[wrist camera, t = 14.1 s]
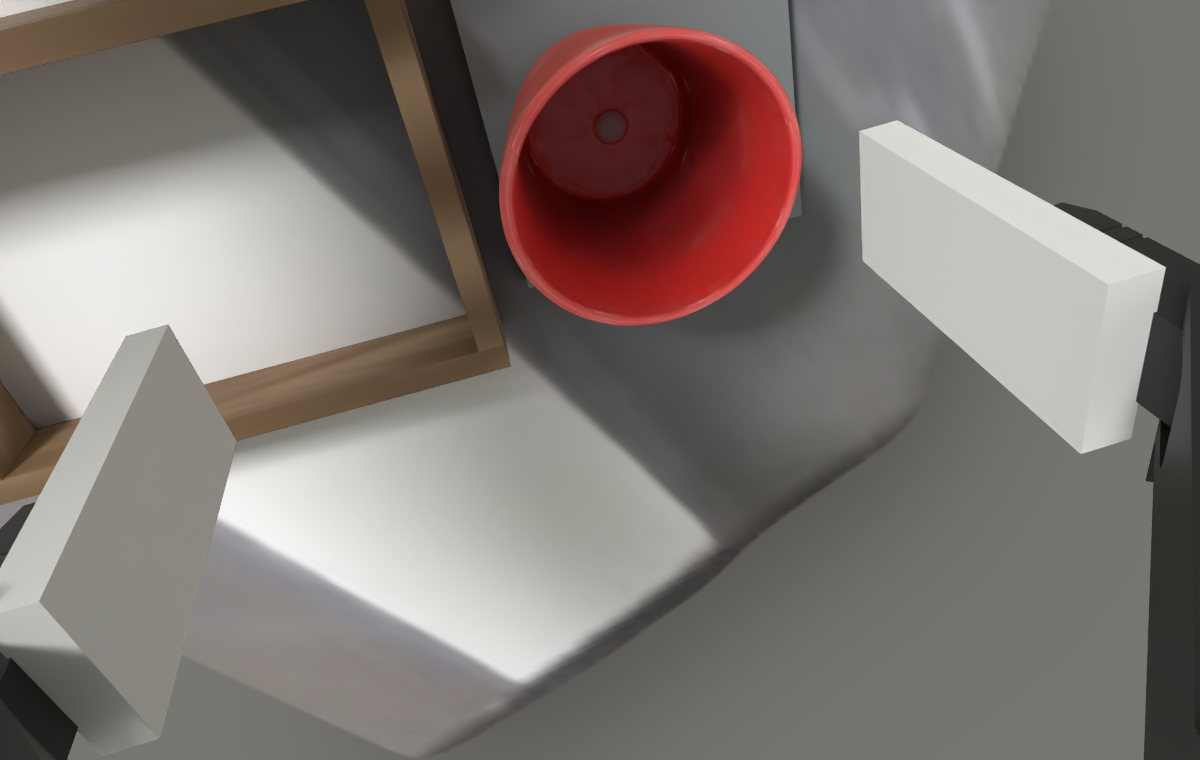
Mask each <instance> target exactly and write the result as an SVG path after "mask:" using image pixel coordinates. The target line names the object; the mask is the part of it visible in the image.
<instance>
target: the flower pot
mask: <svg viewBox="0 0 1200 760" xmlns="http://www.w3.org/2000/svg"><path fill="white" fill-rule="evenodd" d="M801 171H802V139H801V133H800V128H799V124H798V120H797V117H796V114H795V111H794V108H793V106H792V103H791V101H790V99H789V96H788V95H787V93H786V91H785V90H784V88H783V86H782V85H781V84H780V82H779V81H778V79H777V78H776V77H775V75H774V74H773V73H772V72H771V71H770V70H769V69H768V68H767V67H766V66H765V64H763V63H762V62H761V61H760V60H759V59H758V58H757V57H756V56H754V55H753V54H752V53H750V52H749V51H748V50H746V49H745V48H743V47H741V46H740V45H738V44H736V43H735V42H733V41H731V40H729V39H726V38H724V37H722V36H719V35H716V34H713V33H710V32H707V31H703V30H698V29H693V28H687V27H677V26H665V25H642V24H615V25H605V26H598V27H593V28H588V29H584V30H581V31H578V32H575V33H572V34H570V35H568V36H566V37H564V38H563V39H561V40H559V41H558V42H556V43H555V44H554V45H552V46H551V47H550V48H549V49H547V50H546V51H545V52H544V53H543V54H542V55H541V56H540V57H539V59H538V60H537V61H536V62H535V64H534V65H533V66H532V68H531V69H530V71H529V73H528V74H527V76H526V78H525V80H524V82H523V84H522V86H521V89H520V92H519V94H518V97H517V100H516V103H515V105H514V108H513V112H512V115H511V119H510V123H509V127H508V132H507V136H506V141H505V146H504V151H503V156H502V163H501V170H500V180H499V204H500V213H501V221H502V225H503V229H504V233H505V237H506V240H507V242H508V245H509V247H510V250H511V252H512V254H513V256H514V258H515V260H516V262H517V263H518V265H519V267H520V268H521V270H522V271H523V273H524V274H525V276H526V277H527V278H528V279H529V280H530V282H531V283H532V284H533V285H534V286H535V287H536V288H537V289H538V290H539V291H540V292H541V293H542V294H544V295H545V296H546V297H547V298H548V299H550V300H551V301H552V302H554V303H555V304H557V305H558V306H560V307H561V308H563V309H565V310H567V311H569V312H571V313H573V314H575V315H577V316H580V317H582V318H586V319H589V320H592V321H596V322H600V323H605V324H610V325H622V326H637V325H648V324H656V323H662V322H666V321H670V320H674V319H677V318H680V317H684V316H686V315H689V314H691V313H694V312H696V311H698V310H700V309H702V308H704V307H706V306H708V305H710V304H712V303H714V302H716V301H717V300H719V299H720V298H722V297H724V296H725V295H727V294H728V293H729V292H731V291H732V290H734V289H735V288H736V287H737V286H739V285H740V284H741V283H742V282H743V281H744V280H746V279H747V278H748V277H749V276H750V275H751V273H752V272H753V271H754V270H755V269H756V268H757V267H758V266H759V265H760V264H761V263H762V261H763V260H764V259H765V257H766V256H767V255H768V254H769V252H770V251H771V250H772V248H773V247H774V245H775V243H776V242H777V240H778V239H779V237H780V235H781V233H782V231H783V230H784V227H785V225H786V223H787V221H788V219H789V217H790V214H791V212H792V209H793V206H794V203H795V199H796V196H797V192H798V188H799V183H800V177H801Z"/></svg>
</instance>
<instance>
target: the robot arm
mask: <svg viewBox="0 0 1200 760" xmlns="http://www.w3.org/2000/svg"><path fill="white" fill-rule="evenodd" d="M859 143H860V179H861V216H862V252H863V261H864V262H865V263H866V264H867V265H868V266H869V267H870V268H871V269H873V270H874V271H875V272H876V273H877V274H878V275H879V276H881V277H882V278H883V279H884V280H885V281H886V282H887V283H888V284H890V285H891V286H892V287H893V288H894V289H895V290H896V291H897V292H899V293H900V294H901V295H902V296H903V297H904V298H905V299H906V300H908V301H909V302H910V303H911V304H912V305H913V306H914V307H916V308H917V309H918V310H919V311H920V312H921V313H922V314H923V315H925V316H926V317H927V318H928V319H929V320H930V321H931V322H932V323H934V324H935V325H936V326H937V327H938V328H939V329H940V330H941V331H943V332H944V333H945V334H946V335H947V336H948V337H949V338H951V339H952V340H953V341H954V342H955V343H956V344H957V345H958V346H960V347H961V348H962V349H963V350H964V351H965V352H966V353H967V354H969V355H970V356H971V357H972V358H973V359H974V360H975V361H977V362H978V363H979V364H980V365H981V366H982V367H983V368H984V369H985V370H987V371H988V372H989V373H990V374H991V375H992V376H993V377H995V378H996V379H997V380H998V381H999V382H1000V383H1001V384H1002V385H1004V386H1005V387H1006V388H1007V389H1008V390H1009V391H1010V392H1011V393H1013V394H1014V395H1015V396H1016V397H1017V398H1018V399H1019V400H1021V401H1022V402H1023V403H1024V404H1025V405H1026V406H1027V407H1028V408H1030V409H1031V410H1032V411H1033V412H1034V413H1035V414H1037V416H1039V417H1040V418H1041V419H1042V420H1043V421H1044V422H1045V423H1047V424H1048V425H1049V426H1050V427H1051V428H1052V429H1053V430H1054V431H1055V432H1057V433H1058V434H1059V435H1060V436H1061V437H1062V438H1064V440H1066V441H1067V442H1068V443H1069V444H1070V445H1071V446H1073V447H1074V448H1075V449H1076V450H1077V451H1078V452H1079V453H1080V454H1082V453H1086V452H1089V451H1092V450H1095V449H1099V448H1102V447H1105V446H1108V445H1112V444H1114V443H1118V442H1121V441H1124V440H1128V439H1131V436H1132V431H1133V426H1134V421H1135V416H1136V411H1137V406H1138V403H1139V404H1140V405H1141V406H1143V407H1144V408H1145V409H1147V410H1148V411H1149V412H1151V413H1152V414H1154V415H1155V416H1156V417H1157V418H1159V419H1160V420H1159V424H1158V429H1157V433H1156V438H1155V443H1154V446H1153V451H1152V456H1151V460H1150V464H1149V469H1148V473H1147V477H1146V481H1149V482H1153V483H1154V484H1153V511H1152V539H1151V568H1150V569H1151V570H1150V597H1149V599H1150V600H1149V626H1148V654H1147V655H1148V656H1147V683H1146V713H1145V714H1146V715H1145V741H1144V742H1145V743H1144V760H1200V264H1198V263H1196V262H1194V261H1192V260H1190V259H1188V258H1186V257H1184V256H1183V255H1181V254H1179V253H1177V252H1175V251H1173V250H1171V249H1169V248H1167V247H1165V246H1163V245H1161V244H1159V243H1158V242H1156V241H1154V240H1152V239H1150V238H1148V237H1147V238H1143V237H1142V234H1140V233H1138V232H1136V231H1135V230H1132V229H1131V228H1129V227H1122V224H1121V223H1119V222H1117V221H1115V220H1113V219H1111V218H1109V217H1108V216H1106V215H1104V214H1102V213H1100V212H1098V211H1096V210H1091V209H1087V208H1083V207H1079V206H1075V205H1070V204H1066V203H1059V204H1056V205H1051V204H1049V203H1047V202H1046V201H1044V200H1042V199H1040V198H1038V197H1036V196H1035V195H1033V194H1031V193H1029V192H1027V191H1025V190H1024V189H1022V188H1020V187H1018V186H1016V185H1014V184H1013V183H1011V182H1009V181H1007V180H1005V179H1003V178H1001V177H1000V176H998V175H996V174H994V173H993V172H991V171H989V170H987V169H985V168H983V167H982V166H980V165H978V164H976V163H974V162H972V161H971V160H969V159H967V158H965V157H963V156H961V155H960V154H958V153H956V152H954V151H952V150H951V149H949V148H947V147H945V146H943V145H941V144H940V143H938V142H936V141H934V140H932V139H930V138H929V137H927V136H925V135H923V134H921V133H919V132H918V131H916V130H914V129H912V128H910V127H908V126H907V125H905V124H903V123H901V122H899V121H898V120H897V121H894V122H890V123H887V124H883V125H879V126H876V127H872V128H869V129H865V130H862V131H859ZM236 444H237V441H236V439H235V438H234V436H233V434H232V433H231V431H230V429H229V427H228V426H227V424H226V422H225V421H224V419H223V417H222V416H221V414H220V412H219V410H218V409H217V407H216V405H215V404H214V402H213V400H212V398H211V397H210V395H209V393H208V392H207V390H206V388H205V386H204V385H203V383H202V381H201V380H200V378H199V376H198V374H197V373H196V371H195V369H194V368H193V366H192V364H191V362H190V361H189V359H188V357H187V356H186V354H185V352H184V351H183V349H182V347H181V345H180V344H179V342H178V340H177V339H176V337H175V335H174V333H173V332H172V330H171V328H170V327H169V325H165V326H161V327H158V328H154V329H151V330H147V331H143V332H140V333H136V334H133V335H129V336H126V337H125V339H124V341H123V343H122V344H121V346H120V348H119V350H118V352H117V354H116V355H115V357H114V359H113V361H112V363H111V365H110V367H109V368H108V370H107V372H106V374H105V376H104V378H103V379H102V381H101V383H100V385H99V387H98V389H97V390H96V392H95V394H94V396H93V398H92V400H91V402H90V403H89V405H88V407H87V409H86V411H85V413H84V414H83V416H82V418H81V420H80V422H79V424H78V426H77V427H76V429H75V431H74V433H73V435H72V437H71V438H70V440H69V442H68V444H67V446H66V448H65V450H64V451H63V453H62V455H61V457H60V459H59V461H58V462H57V464H56V466H55V468H54V470H53V472H52V473H51V475H50V477H49V479H48V481H47V483H46V485H45V486H44V488H43V490H42V492H41V494H40V496H39V497H38V499H37V501H36V502H35V503H31V504H28V505H24V506H23V507H22V508H21V509H20V510H19V511H18V512H17V513H16V514H15V515H14V516H13V517H12V518H11V519H10V520H9V521H8V522H7V523H6V524H5V525H4V526H3V527H2V528H1V529H0V760H68V759H67V758H68V755H69V752H70V749H71V746H72V744H73V740H74V738H75V735H76V732H77V731H78V732H79V733H80V734H81V735H82V736H83V737H84V738H85V739H86V740H87V741H88V742H89V743H90V744H91V745H92V746H93V747H94V748H95V749H96V750H97V751H98V752H99V753H100V754H101V755H102V756H103V755H107V754H110V753H113V752H117V751H120V750H123V749H126V748H129V747H133V746H136V745H139V744H142V743H146V742H149V741H152V740H155V739H159V738H160V735H161V731H162V727H163V724H164V719H165V716H166V712H167V708H168V704H169V700H170V697H171V693H172V689H173V685H174V681H175V677H176V674H177V670H178V666H179V662H180V658H181V655H182V651H183V647H184V643H185V639H186V635H187V632H188V628H189V624H190V620H191V616H192V612H193V609H194V605H195V601H196V597H197V593H198V589H199V585H200V582H201V578H202V574H203V570H204V566H205V562H206V559H207V555H208V551H209V547H210V543H211V539H212V536H213V532H214V528H215V524H216V520H217V516H218V513H219V509H220V505H221V501H222V497H223V493H224V490H225V486H226V482H227V478H228V474H229V470H230V467H231V463H232V459H233V455H234V451H235V447H236Z"/></svg>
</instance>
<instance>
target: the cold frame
mask: <svg viewBox="0 0 1200 760" xmlns="http://www.w3.org/2000/svg"><path fill="white" fill-rule="evenodd" d="M302 1H306V0H73V1H69V2H65V3H60V4H56V5H52V6H48V7H44V8H40V9H35V10H31V11H27V12H23V13H19V14H15V15H11V16H6V17H2V18H0V75H3V74H7V73H11V72H15V71H19V70H23V69H27V68H31V67H35V66H39V65H44V64H48V63H52V62H56V61H60V60H64V59H68V58H72V57H76V56H80V55H85V54H89V53H93V52H97V51H101V50H105V49H109V48H113V47H117V46H121V45H125V44H130V43H134V42H138V41H142V40H146V39H150V38H154V37H158V36H162V35H166V34H171V33H175V32H179V31H183V30H187V29H191V28H195V27H199V26H203V25H207V24H211V23H216V22H220V21H224V20H228V19H232V18H236V17H240V16H244V15H248V14H252V13H257V12H261V11H265V10H269V9H273V8H277V7H281V6H285V5H289V4H293V3H298V2H302ZM364 2H365V5H366V8H367V11H368V14H369V17H370V20H371V23H372V26H373V29H374V32H375V35H376V38H377V41H378V44H379V47H380V51H381V54H382V57H383V60H384V63H385V66H386V69H387V72H388V75H389V78H390V81H391V84H392V87H393V90H394V93H395V96H396V100H397V103H398V106H399V109H400V112H401V115H402V118H403V121H404V124H405V127H406V130H407V133H408V136H409V139H410V142H411V145H412V149H413V152H414V155H415V158H416V161H417V164H418V167H419V170H420V173H421V176H422V179H423V182H424V185H425V188H426V191H427V194H428V198H429V201H430V204H431V207H432V210H433V213H434V216H435V219H436V222H437V225H438V228H439V231H440V234H441V237H442V240H443V243H444V247H445V250H446V253H447V256H448V259H449V262H450V265H451V268H452V271H453V274H454V277H455V280H456V283H457V286H458V289H459V292H460V296H461V299H462V302H463V305H464V308H465V311H466V314H467V315H464V316H460V317H456V318H452V319H449V320H445V321H441V322H437V323H434V324H430V325H426V326H422V327H419V328H415V329H411V330H407V331H404V332H400V333H396V334H393V335H389V336H385V337H381V338H378V339H374V340H370V341H366V342H363V343H359V344H355V345H351V346H348V347H344V348H340V349H336V350H333V351H329V352H325V353H321V354H318V355H314V356H310V357H307V358H303V359H299V360H295V361H292V362H288V363H284V364H280V365H277V366H273V367H269V368H265V369H262V370H258V371H254V372H250V373H247V374H243V375H239V376H236V377H232V378H228V379H224V380H221V381H217V382H213V383H209V384H206V385H204V386H205V388H206V390H207V392H208V393H209V395H210V397H211V398H212V400H213V402H214V404H215V405H216V407H217V409H218V410H219V412H220V414H221V416H222V417H223V419H224V421H225V422H226V424H227V426H228V427H229V429H230V431H231V433H232V434H233V436H234V438H235V439H236V441H238V440H241V439H245V438H249V437H252V436H256V435H260V434H263V433H267V432H271V431H274V430H278V429H282V428H285V427H289V426H293V425H297V424H300V423H304V422H308V421H311V420H315V419H319V418H322V417H326V416H330V415H333V414H337V413H341V412H344V411H348V410H352V409H355V408H359V407H363V406H366V405H370V404H374V403H378V402H381V401H385V400H389V399H392V398H396V397H400V396H403V395H407V394H411V393H414V392H418V391H422V390H425V389H429V388H433V387H436V386H440V385H444V384H447V383H451V382H455V381H459V380H462V379H466V378H470V377H473V376H477V375H481V374H484V373H488V372H492V371H495V370H499V369H503V368H506V367H510V361H509V356H508V351H507V346H506V341H505V335H504V330H503V326H502V323H501V319H500V316H499V313H498V309H497V306H496V303H495V299H494V296H493V293H492V289H491V286H490V283H489V280H488V276H487V273H486V270H485V266H484V263H483V260H482V256H481V253H480V250H479V246H478V243H477V240H476V236H475V233H474V230H473V226H472V223H471V220H470V217H469V213H468V210H467V207H466V203H465V200H464V197H463V193H462V190H461V187H460V183H459V180H458V177H457V173H456V170H455V167H454V164H453V160H452V157H451V154H450V150H449V147H448V144H447V140H446V137H445V134H444V130H443V127H442V124H441V120H440V117H439V114H438V111H437V107H436V104H435V101H434V97H433V94H432V91H431V87H430V84H429V81H428V77H427V74H426V71H425V67H424V64H423V61H422V58H421V54H420V51H419V48H418V44H417V41H416V38H415V34H414V31H413V28H412V24H411V21H410V18H409V14H408V11H407V8H406V5H405V1H404V0H364ZM80 420H81V418H78V419H75V420H71V421H67V422H64V423H60V424H56V425H52V426H49V427H45V428H41V429H37V430H35V429H34V428H33V426H32V425H31V424H30V422H29V421H28V419H27V418H26V417H25V415H24V414H23V412H22V411H21V410H20V408H19V407H18V406H17V404H16V403H15V401H14V400H13V399H12V397H11V396H10V394H9V393H8V392H7V390H6V389H5V387H4V386H3V385H2V383H1V382H0V505H2V504H6V503H9V502H13V501H17V500H20V499H24V498H28V497H32V496H35V495H39V494H41V492H42V490H43V488H44V486H45V485H46V483H47V481H48V479H49V477H50V475H51V473H52V472H53V470H54V468H55V466H56V464H57V462H58V461H59V459H60V457H61V455H62V453H63V451H64V450H65V448H66V446H67V444H68V442H69V440H70V438H71V437H72V435H73V433H74V431H75V429H76V427H77V426H78V424H79V422H80Z"/></svg>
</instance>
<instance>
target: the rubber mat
mask: <svg viewBox="0 0 1200 760" xmlns="http://www.w3.org/2000/svg"><path fill="white" fill-rule="evenodd" d="M450 2H451V6H452V9H453V13H454V17H455V20H456V24H457V27H458V31H459V35H460V38H461V42H462V46H463V49H464V53H465V57H466V60H467V64H468V68H469V71H470V75H471V79H472V82H473V86H474V90H475V93H476V97H477V101H478V104H479V108H480V112H481V115H482V119H483V122H484V126H485V130H486V133H487V137H488V141H489V144H490V148H491V152H492V155H493V159H494V163H495V166H496V170H497V174H498V177H499V180H500V170H501V163H502V156H503V151H504V146H505V141H506V136H507V132H508V127H509V123H510V119H511V115H512V112H513V108H514V105H515V103H516V100H517V97H518V94H519V92H520V89H521V86H522V84H523V82H524V80H525V78H526V76H527V74H528V73H529V71H530V69H531V68H532V66H533V65H534V64H535V62H536V61H537V60H538V59H539V57H540V56H541V55H542V54H543V53H544V52H545V51H546V50H547V49H549V48H550V47H551V46H552V45H554V44H555V43H556V42H558V41H559V40H561V39H563V38H564V37H566V36H568V35H570V34H572V33H575V32H578V31H581V30H584V29H588V28H593V27H598V26H605V25H615V24H642V25H665V26H677V27H687V28H693V29H698V30H703V31H707V32H710V33H713V34H716V35H719V36H722V37H724V38H726V39H729V40H731V41H733V42H735V43H736V44H738V45H740V46H741V47H743V48H745V49H746V50H748V51H749V52H750V53H752V54H753V55H754V56H756V57H757V58H758V59H759V60H760V61H761V62H762V63H763V64H765V66H766V67H767V68H768V69H769V70H770V71H771V72H772V73H773V74H774V75H775V77H776V78H777V79H778V81H779V82H780V84H781V85H782V86H783V88H784V90H785V91H786V93H787V95H788V96H789V99H790V101H791V103H792V106H793V108H794V111H795V101H794V85H793V70H792V55H791V40H790V25H789V10H788V0H450ZM799 216H802V206H801V191H800V183H799V188H798V192H797V196H796V199H795V203H794V206H793V209H792V212H791V214H790V217H789V219H791V218H795V217H799ZM526 280H527V283H528V287H529V288H532V287H535V286H534V285H533V284H532V283H531V282H530V280H529V279H528V278H527V277H526Z"/></svg>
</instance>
